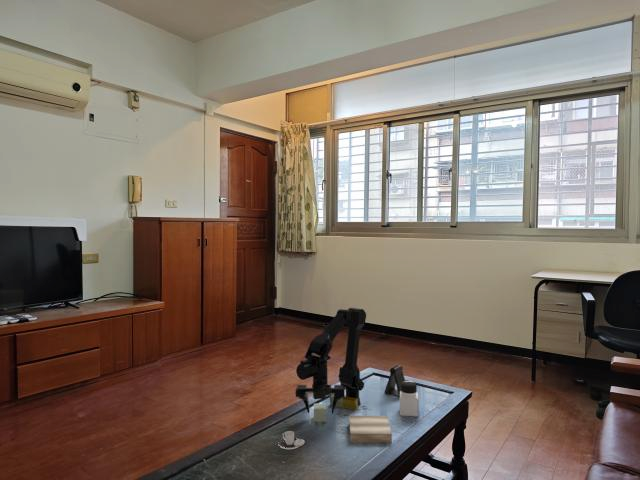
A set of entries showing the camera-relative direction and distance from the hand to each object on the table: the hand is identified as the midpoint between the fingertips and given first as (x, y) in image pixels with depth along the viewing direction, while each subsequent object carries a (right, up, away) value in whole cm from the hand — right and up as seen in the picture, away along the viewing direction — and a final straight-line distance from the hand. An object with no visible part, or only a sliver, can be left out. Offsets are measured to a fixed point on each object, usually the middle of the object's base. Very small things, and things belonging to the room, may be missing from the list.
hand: (320, 412), depth 163 cm
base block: (+18, -2, -12) cm, 21 cm away
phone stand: (+34, -2, +25) cm, 42 cm away
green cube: (0, -2, 0) cm, 2 cm away
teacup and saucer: (-10, -4, -22) cm, 24 cm away
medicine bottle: (+35, -2, +5) cm, 36 cm away
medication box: (+10, -2, +11) cm, 15 cm away
